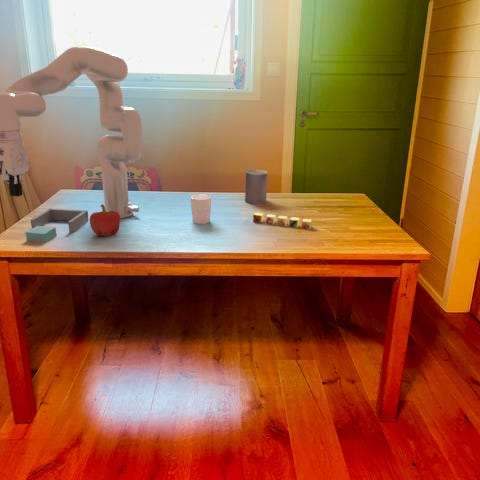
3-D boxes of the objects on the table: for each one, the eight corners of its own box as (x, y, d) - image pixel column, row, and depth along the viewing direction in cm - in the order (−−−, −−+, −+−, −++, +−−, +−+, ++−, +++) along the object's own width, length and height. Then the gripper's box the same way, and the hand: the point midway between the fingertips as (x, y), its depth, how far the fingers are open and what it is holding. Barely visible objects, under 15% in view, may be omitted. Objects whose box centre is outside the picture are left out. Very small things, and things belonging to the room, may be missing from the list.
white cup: (215, 221, 187) (215, 197, 183) (200, 226, 181) (200, 200, 178) (201, 217, 192) (201, 193, 188) (187, 221, 186) (186, 196, 183)
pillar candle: (243, 198, 219) (244, 166, 214) (264, 198, 220) (265, 166, 215) (246, 204, 210) (247, 171, 205) (268, 204, 211) (269, 171, 206)
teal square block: (56, 236, 168) (55, 227, 166) (45, 243, 161) (44, 233, 160) (38, 235, 169) (37, 225, 168) (26, 241, 162) (25, 232, 161)
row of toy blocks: (256, 211, 203) (256, 203, 202) (331, 220, 193) (331, 212, 191) (229, 234, 174) (229, 225, 173) (315, 246, 164) (315, 237, 163)
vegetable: (89, 231, 173) (86, 204, 170) (117, 227, 177) (115, 202, 174) (93, 240, 164) (90, 213, 160) (123, 237, 168) (121, 210, 164)
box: (88, 220, 184) (87, 210, 183) (72, 232, 171) (71, 221, 170) (50, 218, 186) (49, 208, 184) (31, 230, 173) (30, 219, 171)
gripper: (6, 140, 134) (14, 202, 141) (33, 133, 148) (40, 190, 155) (-19, 139, 135) (-10, 201, 141) (10, 132, 149) (18, 189, 155)
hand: (16, 195), depth 148 cm, fingers closed
